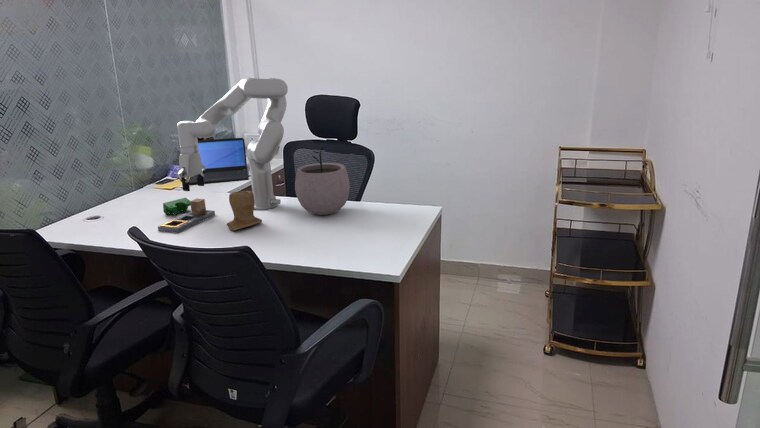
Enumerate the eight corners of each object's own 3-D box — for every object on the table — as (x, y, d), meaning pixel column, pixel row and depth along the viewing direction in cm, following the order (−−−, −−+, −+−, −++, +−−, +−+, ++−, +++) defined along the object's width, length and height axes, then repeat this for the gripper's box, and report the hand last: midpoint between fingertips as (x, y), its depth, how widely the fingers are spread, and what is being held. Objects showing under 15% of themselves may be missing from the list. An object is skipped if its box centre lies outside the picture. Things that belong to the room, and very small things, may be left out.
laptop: (187, 186, 301) (182, 151, 295) (193, 172, 336) (188, 141, 330) (248, 180, 308) (244, 147, 302) (247, 167, 343) (244, 136, 337)
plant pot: (313, 203, 256) (308, 141, 247) (359, 207, 248) (356, 142, 239) (287, 219, 235) (281, 151, 226) (337, 223, 227) (332, 153, 218)
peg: (206, 216, 244) (204, 199, 241) (200, 219, 240) (198, 201, 237) (198, 215, 245) (196, 198, 243) (192, 218, 241) (189, 201, 239)
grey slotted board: (215, 214, 245) (214, 210, 244) (177, 232, 223) (176, 227, 222) (197, 213, 248) (196, 208, 248) (158, 230, 226) (157, 225, 225)
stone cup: (249, 219, 237) (246, 186, 233) (266, 224, 229) (262, 190, 225) (219, 228, 227) (215, 193, 222) (235, 233, 219) (231, 198, 214)
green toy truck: (174, 224, 248) (166, 210, 242) (167, 219, 251) (159, 205, 245) (196, 209, 254) (188, 195, 247) (189, 204, 257) (181, 190, 251)
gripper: (195, 146, 242) (199, 183, 247) (168, 153, 227) (173, 192, 232) (209, 147, 240) (213, 184, 245) (183, 153, 224) (187, 193, 229)
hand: (193, 188), depth 238 cm, fingers open, 9 cm apart
